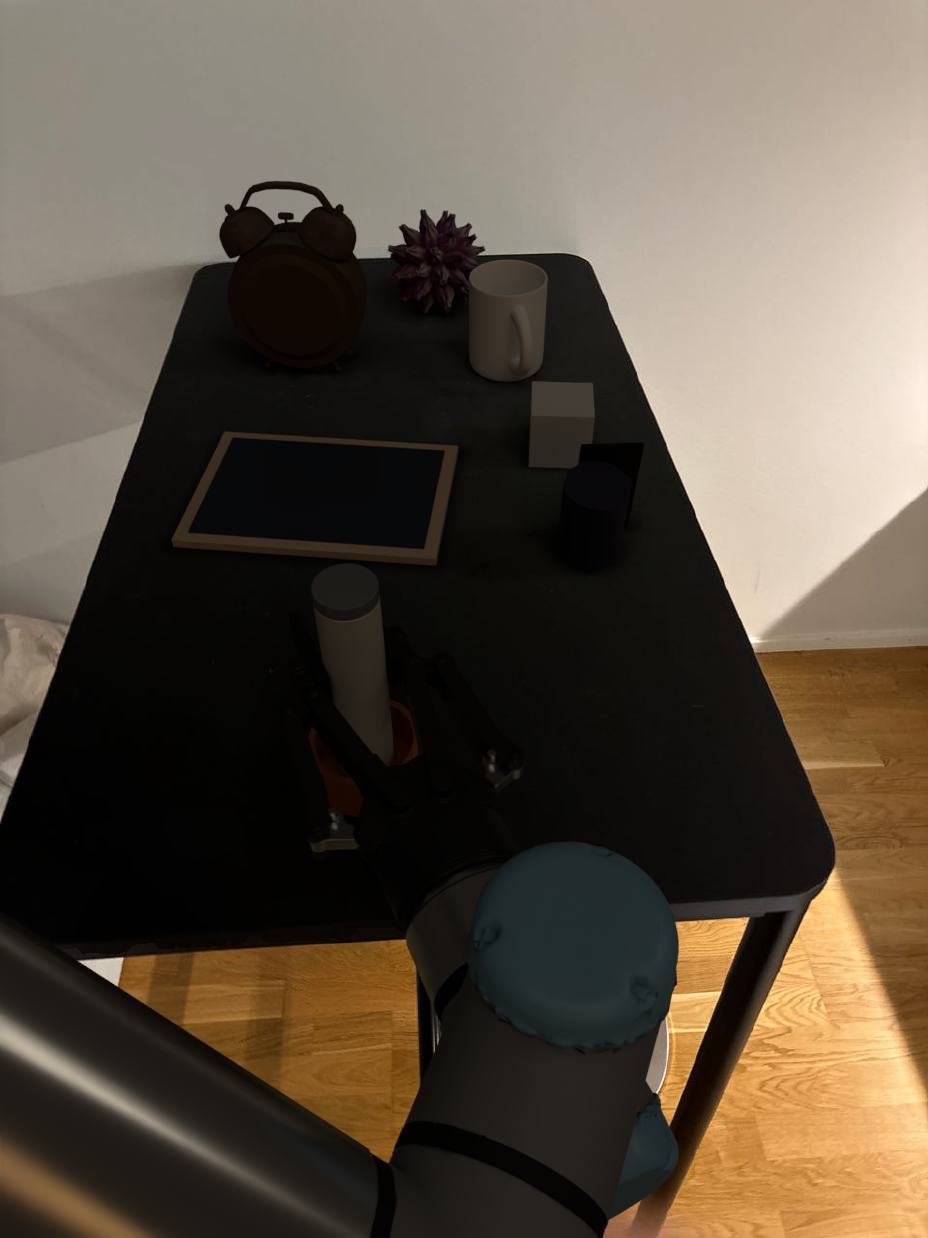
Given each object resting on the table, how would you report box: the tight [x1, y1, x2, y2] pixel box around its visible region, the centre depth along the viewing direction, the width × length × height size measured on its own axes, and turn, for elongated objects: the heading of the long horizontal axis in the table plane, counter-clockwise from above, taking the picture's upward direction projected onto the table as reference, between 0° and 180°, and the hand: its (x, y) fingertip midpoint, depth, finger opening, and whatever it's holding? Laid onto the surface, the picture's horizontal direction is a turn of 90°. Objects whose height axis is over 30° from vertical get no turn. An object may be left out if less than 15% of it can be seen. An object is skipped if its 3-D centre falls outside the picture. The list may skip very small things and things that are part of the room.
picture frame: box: [171, 431, 459, 567], centre depth 93 cm, size 24×17×1 cm
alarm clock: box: [218, 180, 368, 372], centre depth 104 cm, size 15×7×20 cm, turn 84°
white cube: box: [528, 380, 596, 469], centre depth 97 cm, size 6×6×6 cm
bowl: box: [308, 698, 420, 818], centre depth 70 cm, size 8×8×4 cm
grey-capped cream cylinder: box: [310, 562, 395, 778], centre depth 64 cm, size 4×4×18 cm
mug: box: [468, 259, 549, 383], centre depth 105 cm, size 12×8×10 cm
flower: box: [387, 209, 486, 314], centre depth 116 cm, size 12×12×12 cm
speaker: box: [556, 441, 645, 572], centre depth 85 cm, size 8×6×10 cm
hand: (329, 616), depth 67 cm, fingers closed on grey-capped cream cylinder, 4 cm apart
